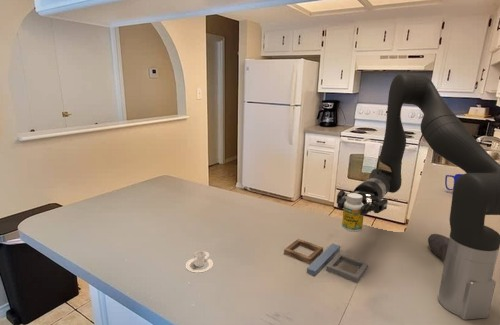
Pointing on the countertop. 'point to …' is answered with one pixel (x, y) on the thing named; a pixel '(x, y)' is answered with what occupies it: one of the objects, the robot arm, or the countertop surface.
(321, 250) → the holder
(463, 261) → the robot arm
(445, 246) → the perforated stone tool
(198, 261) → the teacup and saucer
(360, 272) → the holder open
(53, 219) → the countertop surface
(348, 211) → the supplement bottle
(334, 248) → the door sill
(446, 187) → the mug
